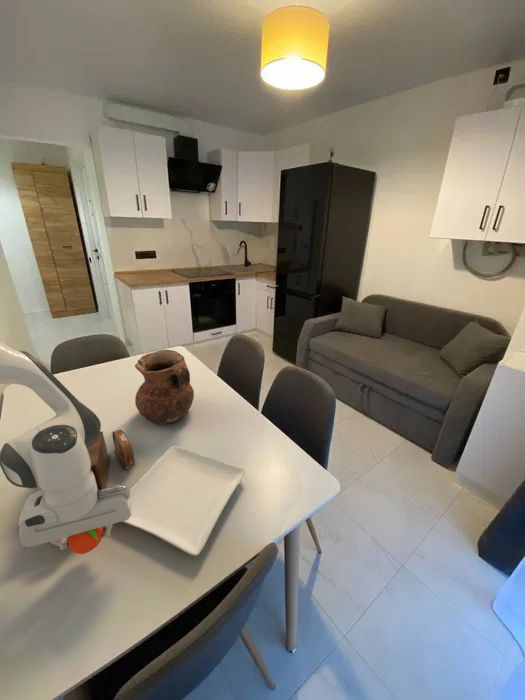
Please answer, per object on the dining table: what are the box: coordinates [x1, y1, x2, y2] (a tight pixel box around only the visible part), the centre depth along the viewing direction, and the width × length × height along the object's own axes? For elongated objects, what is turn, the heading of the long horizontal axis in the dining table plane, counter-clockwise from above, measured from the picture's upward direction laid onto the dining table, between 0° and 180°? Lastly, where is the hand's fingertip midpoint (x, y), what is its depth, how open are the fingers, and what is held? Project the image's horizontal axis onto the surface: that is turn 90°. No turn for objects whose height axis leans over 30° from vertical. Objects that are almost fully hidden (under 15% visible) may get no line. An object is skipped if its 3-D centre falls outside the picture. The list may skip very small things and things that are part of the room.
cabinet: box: [87, 430, 109, 490], centre depth 85 cm, size 15×14×11 cm
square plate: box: [121, 445, 246, 557], centre depth 82 cm, size 27×27×4 cm
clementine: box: [68, 527, 103, 555], centre depth 65 cm, size 8×7×7 cm
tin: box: [111, 429, 136, 469], centre depth 94 cm, size 15×3×8 cm, turn 40°
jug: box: [134, 349, 195, 425], centre depth 113 cm, size 22×21×25 cm
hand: (86, 539), depth 65 cm, fingers closed on clementine, 7 cm apart
